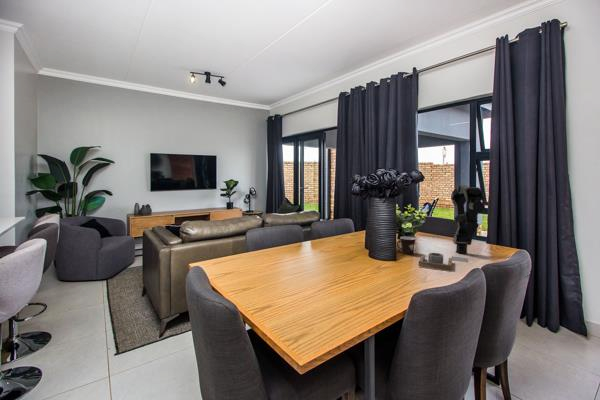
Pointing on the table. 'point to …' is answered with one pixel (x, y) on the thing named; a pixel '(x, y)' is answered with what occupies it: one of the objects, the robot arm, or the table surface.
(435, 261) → the tumbler
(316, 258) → the table surface
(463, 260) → the felt coaster
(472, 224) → the robot arm
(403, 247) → the coffee mug
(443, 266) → the corral
